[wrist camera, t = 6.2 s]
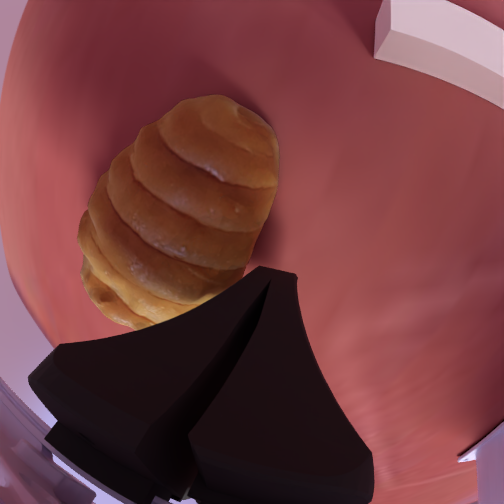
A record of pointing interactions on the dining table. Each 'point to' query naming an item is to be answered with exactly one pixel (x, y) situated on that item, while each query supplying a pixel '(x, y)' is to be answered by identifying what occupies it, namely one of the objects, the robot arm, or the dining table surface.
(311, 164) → the dining table surface
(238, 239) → the pastry
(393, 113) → the dining table surface
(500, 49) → the white rectangular bar
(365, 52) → the dining table surface
